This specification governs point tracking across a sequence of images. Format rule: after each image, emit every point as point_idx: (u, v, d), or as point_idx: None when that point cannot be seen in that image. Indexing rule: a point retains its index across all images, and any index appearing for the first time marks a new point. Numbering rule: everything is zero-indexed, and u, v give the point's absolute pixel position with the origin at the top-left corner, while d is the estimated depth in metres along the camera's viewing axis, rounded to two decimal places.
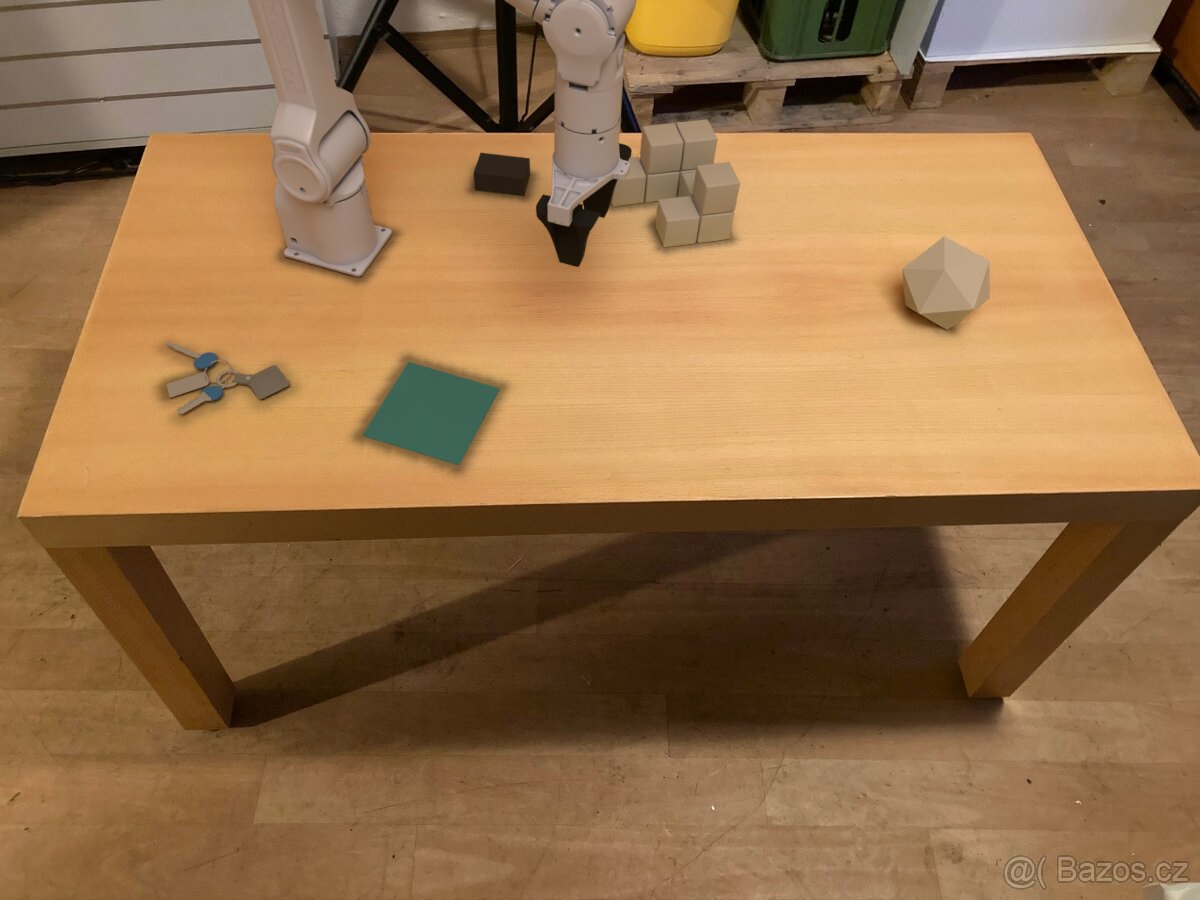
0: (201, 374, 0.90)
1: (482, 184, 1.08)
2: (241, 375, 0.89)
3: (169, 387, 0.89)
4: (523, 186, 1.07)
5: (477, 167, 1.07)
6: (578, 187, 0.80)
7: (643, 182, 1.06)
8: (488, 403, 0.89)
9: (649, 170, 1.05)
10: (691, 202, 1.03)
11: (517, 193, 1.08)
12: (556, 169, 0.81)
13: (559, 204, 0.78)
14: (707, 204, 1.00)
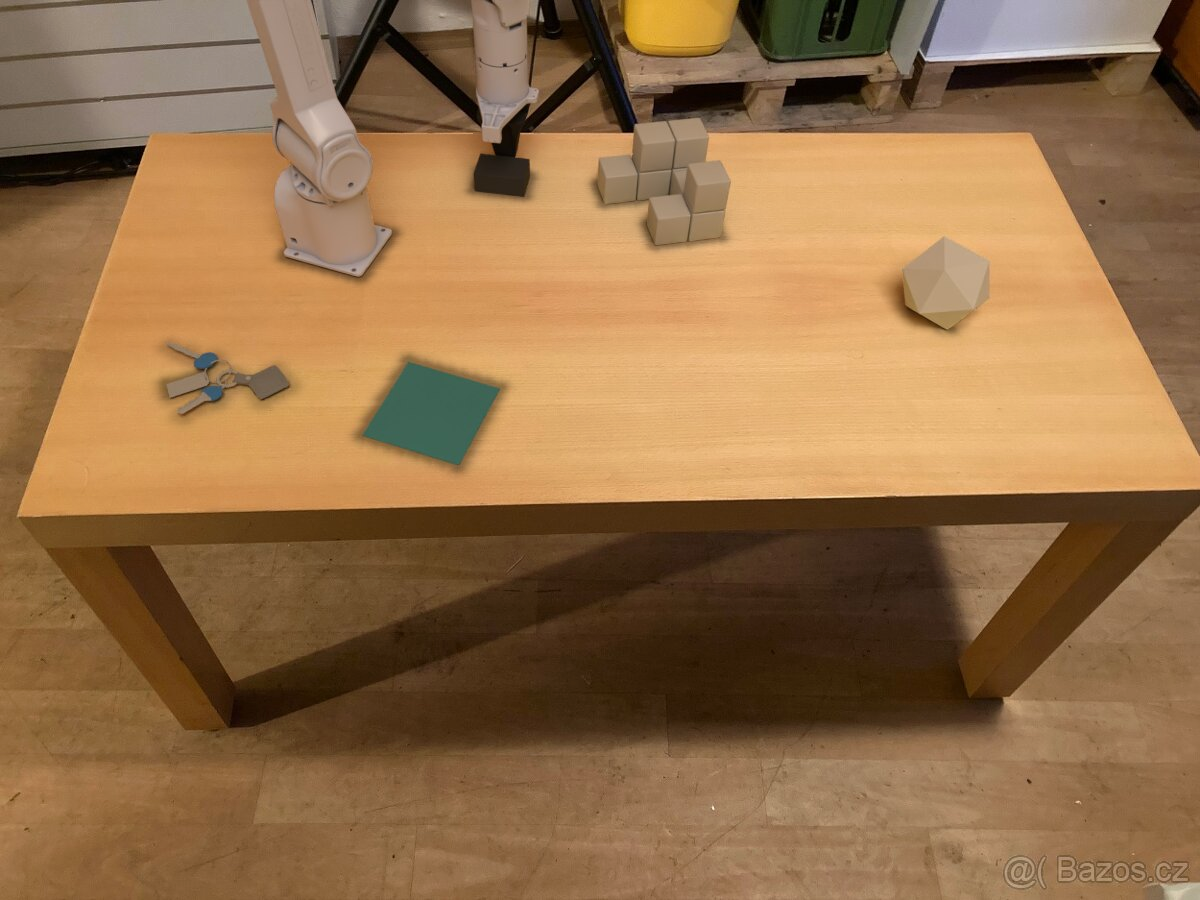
0: (201, 374, 0.90)
1: (482, 185, 1.08)
2: (241, 375, 0.89)
3: (169, 387, 0.89)
4: (523, 187, 1.07)
5: (477, 168, 1.07)
6: (502, 112, 1.01)
7: (635, 180, 1.06)
8: (488, 403, 0.89)
9: (641, 168, 1.05)
10: (682, 200, 1.03)
11: (517, 194, 1.08)
12: (481, 100, 1.01)
13: (491, 125, 0.99)
14: (698, 202, 1.00)
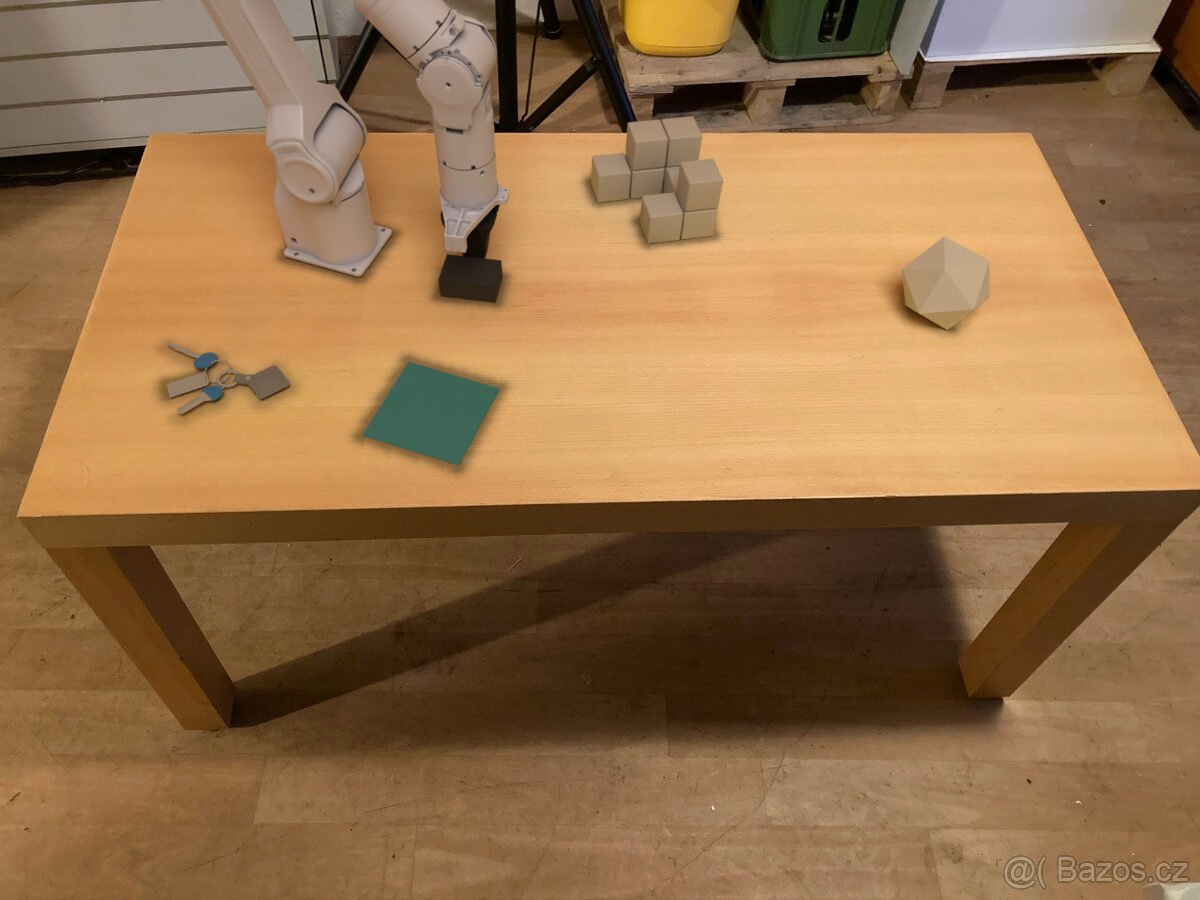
0: (201, 374, 0.90)
1: (448, 290, 0.97)
2: (241, 375, 0.89)
3: (169, 387, 0.89)
4: (494, 293, 0.97)
5: (443, 272, 0.97)
6: (467, 216, 0.91)
7: (628, 178, 1.06)
8: (488, 403, 0.89)
9: (634, 167, 1.05)
10: (675, 198, 1.03)
11: (487, 300, 0.98)
12: (444, 203, 0.91)
13: (454, 234, 0.88)
14: (690, 200, 1.01)
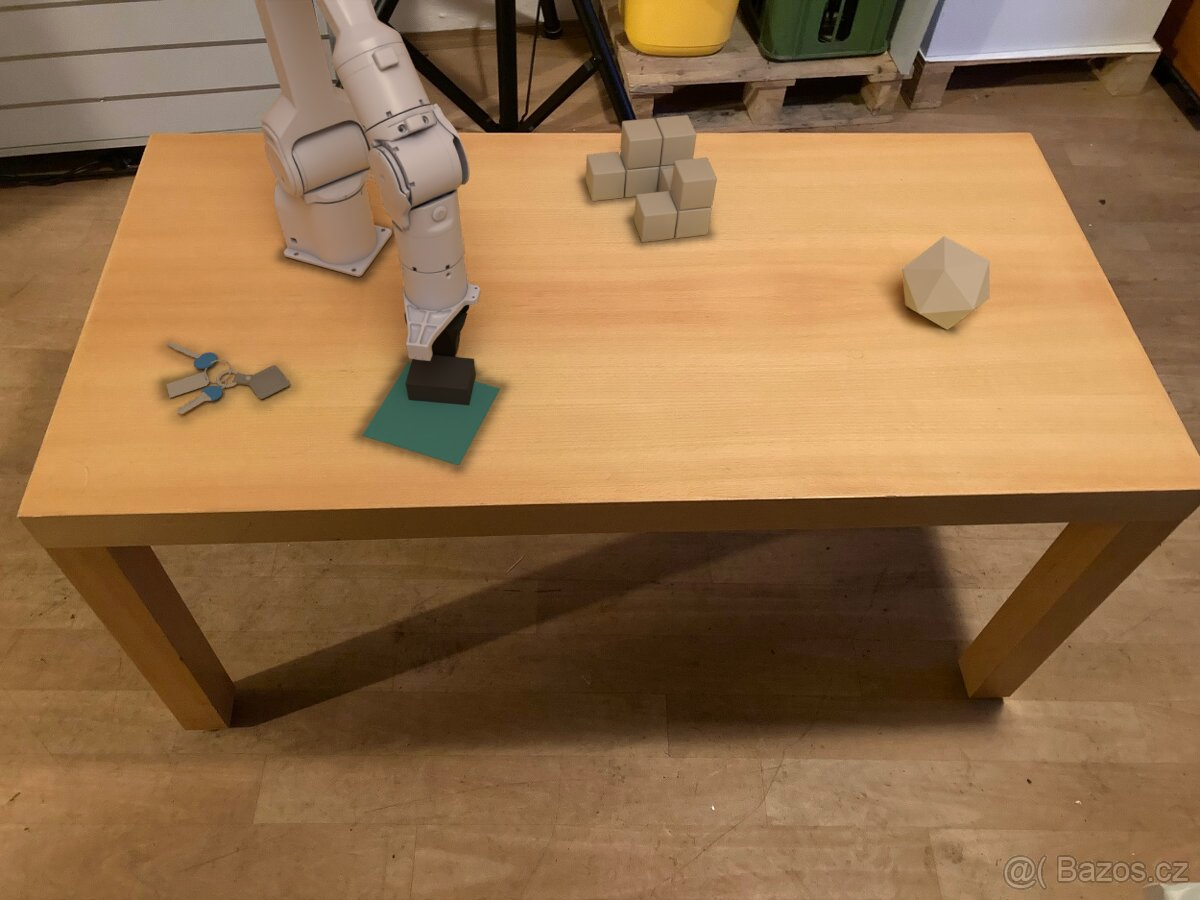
0: (201, 374, 0.90)
1: (417, 394, 0.89)
2: (241, 375, 0.89)
3: (169, 387, 0.89)
4: (467, 396, 0.88)
5: (410, 375, 0.88)
6: (433, 320, 0.82)
7: (622, 177, 1.06)
8: (488, 403, 0.89)
9: (629, 165, 1.05)
10: (669, 197, 1.03)
11: (460, 403, 0.89)
12: (408, 304, 0.82)
13: (417, 342, 0.80)
14: (684, 199, 1.01)
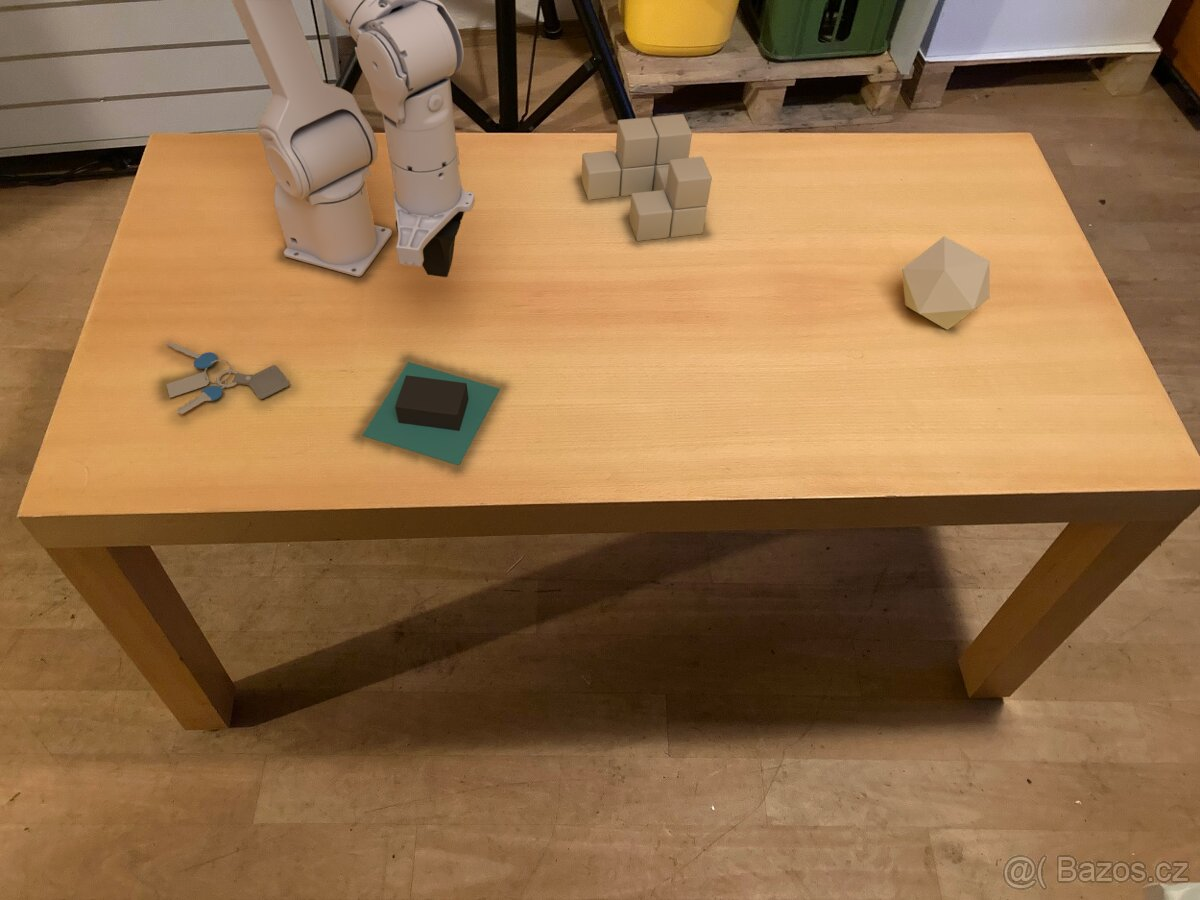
0: (201, 374, 0.90)
1: (407, 417, 0.87)
2: (241, 375, 0.89)
3: (169, 387, 0.89)
4: (457, 422, 0.86)
5: (400, 398, 0.86)
6: (425, 225, 0.79)
7: (618, 176, 1.07)
8: (488, 403, 0.89)
9: (624, 164, 1.05)
10: (664, 196, 1.03)
11: (450, 428, 0.87)
12: (399, 209, 0.79)
13: (408, 245, 0.77)
14: (679, 198, 1.01)
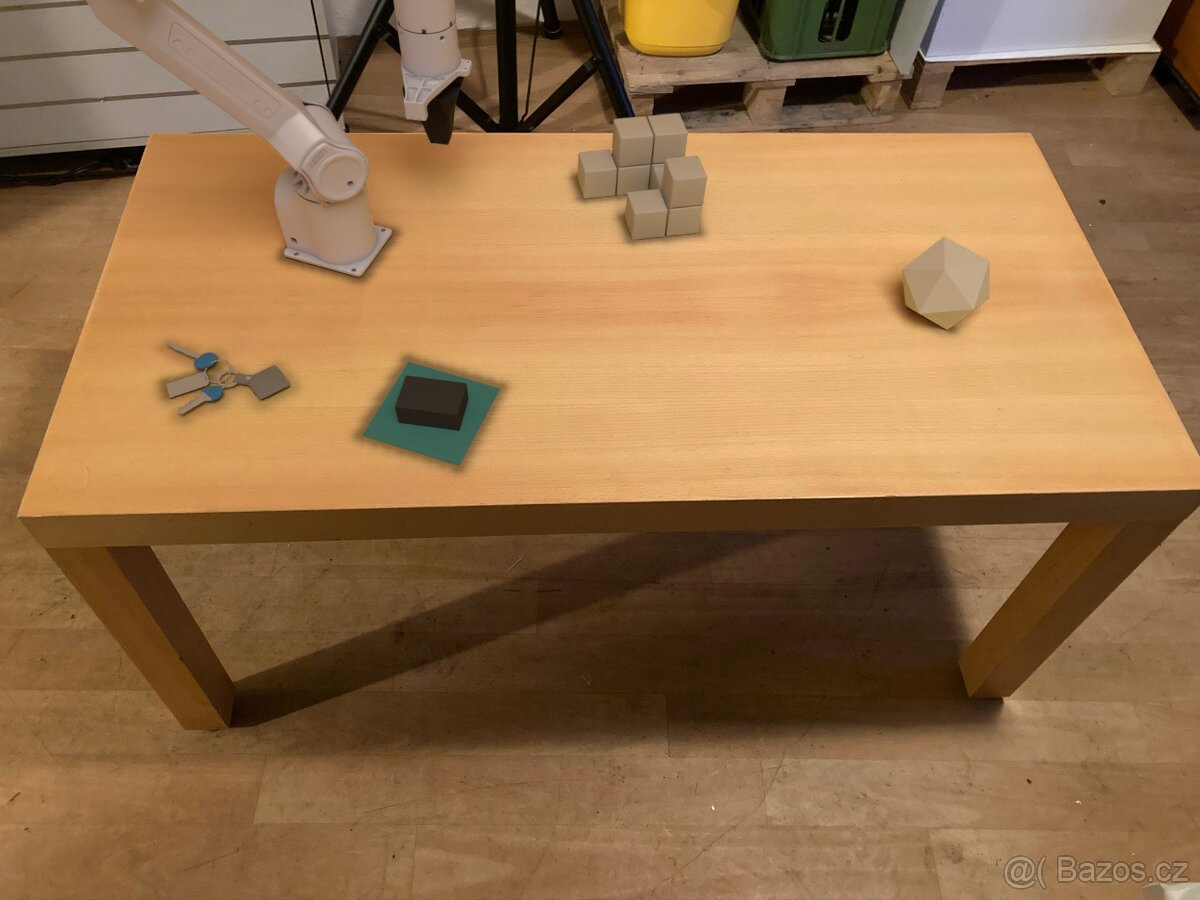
0: (201, 374, 0.90)
1: (407, 417, 0.87)
2: (241, 375, 0.89)
3: (169, 387, 0.89)
4: (457, 422, 0.86)
5: (400, 398, 0.86)
6: (428, 86, 0.90)
7: (614, 175, 1.07)
8: (488, 403, 0.89)
9: (620, 163, 1.06)
10: (660, 195, 1.03)
11: (450, 428, 0.87)
12: (405, 72, 0.90)
13: (414, 100, 0.87)
14: (675, 197, 1.01)
